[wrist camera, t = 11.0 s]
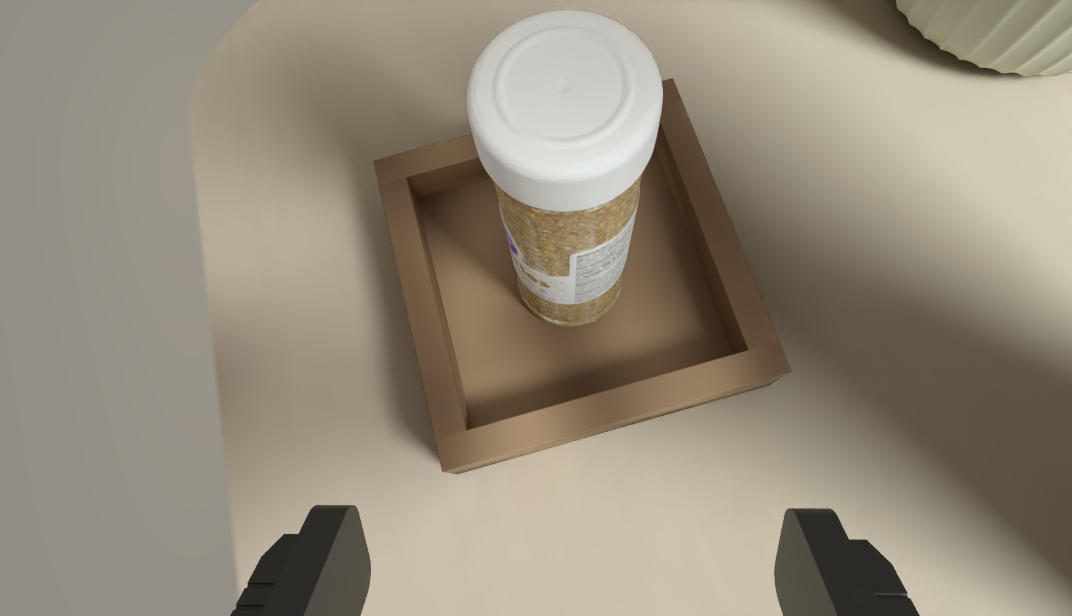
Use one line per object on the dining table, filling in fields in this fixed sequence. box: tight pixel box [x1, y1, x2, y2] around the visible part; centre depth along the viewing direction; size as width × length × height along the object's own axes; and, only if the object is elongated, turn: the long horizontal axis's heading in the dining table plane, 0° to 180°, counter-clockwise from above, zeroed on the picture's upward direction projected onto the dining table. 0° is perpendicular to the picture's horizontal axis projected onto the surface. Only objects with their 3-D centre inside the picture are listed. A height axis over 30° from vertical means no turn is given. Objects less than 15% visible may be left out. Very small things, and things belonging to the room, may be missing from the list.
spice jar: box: [467, 10, 663, 327], centre depth 21 cm, size 5×5×13 cm
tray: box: [374, 78, 791, 474], centre depth 27 cm, size 13×13×3 cm
